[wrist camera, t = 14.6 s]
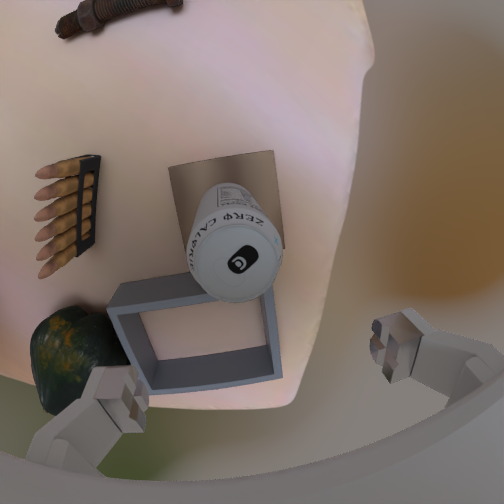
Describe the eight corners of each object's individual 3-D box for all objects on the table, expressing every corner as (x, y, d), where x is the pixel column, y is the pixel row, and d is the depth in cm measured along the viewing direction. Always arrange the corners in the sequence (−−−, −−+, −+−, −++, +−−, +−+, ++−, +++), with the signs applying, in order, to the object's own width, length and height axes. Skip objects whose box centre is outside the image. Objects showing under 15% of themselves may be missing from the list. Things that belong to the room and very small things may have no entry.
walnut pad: (189, 260, 33) (188, 265, 32) (170, 166, 29) (168, 167, 28) (282, 244, 34) (284, 248, 33) (270, 150, 30) (273, 150, 29)
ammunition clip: (94, 244, 31) (47, 289, 20) (81, 242, 31) (32, 285, 20) (101, 155, 28) (45, 163, 16) (87, 154, 27) (28, 162, 16)
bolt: (73, 33, 22) (183, -5, 23) (64, 55, 22) (184, 13, 22) (56, 5, 17) (175, -40, 17) (43, 26, 16) (175, -27, 16)
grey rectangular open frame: (153, 366, 38) (147, 395, 33) (120, 283, 33) (105, 308, 28) (274, 348, 39) (282, 377, 34) (262, 259, 34) (272, 282, 29)
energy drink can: (186, 209, 30) (161, 266, 16) (228, 169, 29) (239, 190, 15) (226, 247, 32) (235, 328, 18) (266, 210, 31) (309, 265, 17)
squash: (154, 339, 30) (37, 385, 18) (148, 410, 35) (66, 452, 23) (97, 279, 37) (3, 301, 24) (98, 352, 42) (25, 379, 30)
